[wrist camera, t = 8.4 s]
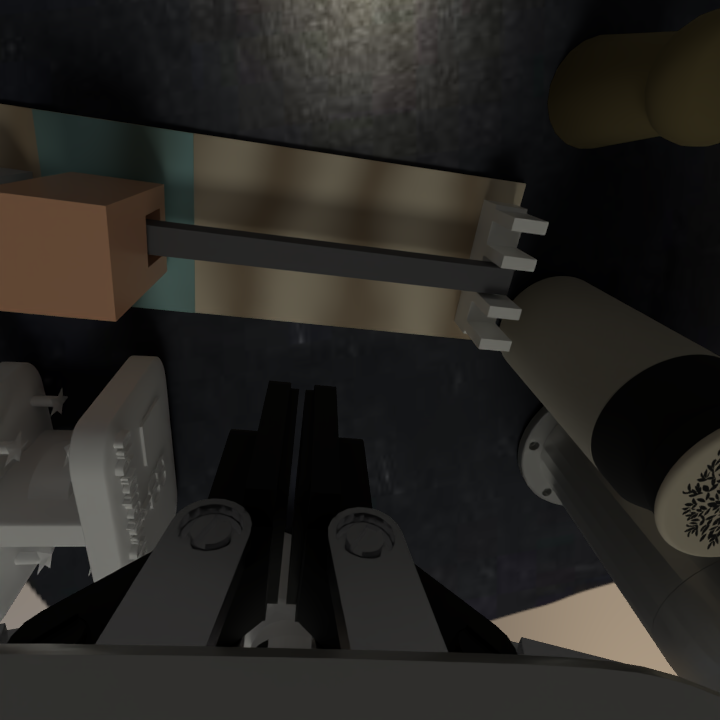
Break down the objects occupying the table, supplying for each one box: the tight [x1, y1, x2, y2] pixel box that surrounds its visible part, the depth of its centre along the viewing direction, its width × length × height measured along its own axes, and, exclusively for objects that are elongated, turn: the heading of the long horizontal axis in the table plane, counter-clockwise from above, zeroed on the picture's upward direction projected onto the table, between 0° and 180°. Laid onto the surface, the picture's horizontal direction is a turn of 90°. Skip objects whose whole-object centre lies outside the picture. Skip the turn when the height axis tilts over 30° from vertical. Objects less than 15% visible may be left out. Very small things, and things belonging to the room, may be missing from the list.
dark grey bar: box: [146, 219, 514, 295], centre depth 27 cm, size 30×2×2 cm, turn 82°
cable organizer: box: [0, 355, 177, 621], centre depth 30 cm, size 15×11×12 cm
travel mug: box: [500, 276, 720, 557], centre depth 27 cm, size 8×8×18 cm
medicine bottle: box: [244, 532, 312, 649], centre depth 38 cm, size 7×7×12 cm
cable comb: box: [454, 200, 549, 352], centre depth 30 cm, size 2×8×6 cm, turn 172°
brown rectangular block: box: [0, 172, 167, 322], centre depth 24 cm, size 5×5×9 cm
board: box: [0, 104, 526, 339], centre depth 30 cm, size 33×11×1 cm, turn 82°
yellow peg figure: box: [548, 8, 720, 149], centre depth 23 cm, size 6×6×11 cm
